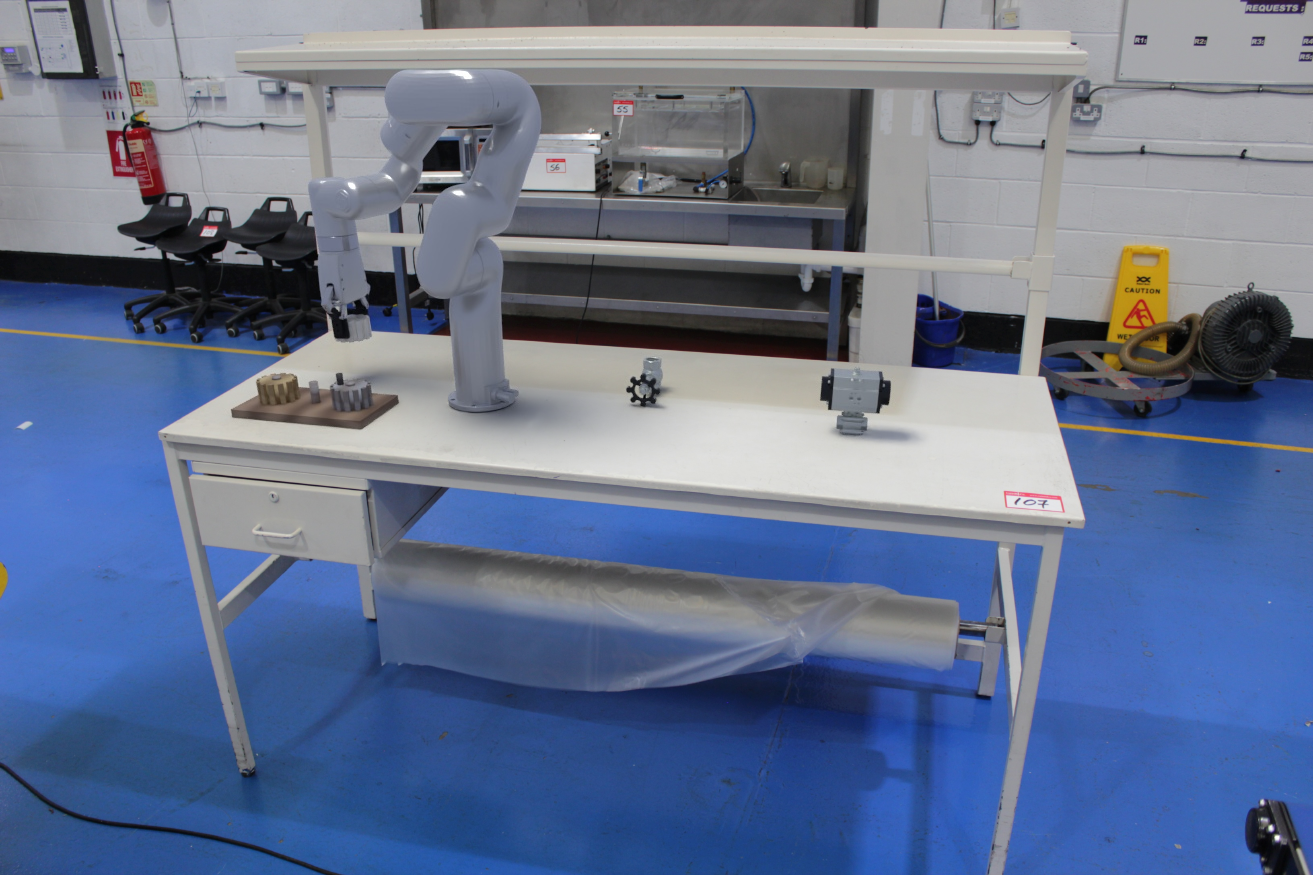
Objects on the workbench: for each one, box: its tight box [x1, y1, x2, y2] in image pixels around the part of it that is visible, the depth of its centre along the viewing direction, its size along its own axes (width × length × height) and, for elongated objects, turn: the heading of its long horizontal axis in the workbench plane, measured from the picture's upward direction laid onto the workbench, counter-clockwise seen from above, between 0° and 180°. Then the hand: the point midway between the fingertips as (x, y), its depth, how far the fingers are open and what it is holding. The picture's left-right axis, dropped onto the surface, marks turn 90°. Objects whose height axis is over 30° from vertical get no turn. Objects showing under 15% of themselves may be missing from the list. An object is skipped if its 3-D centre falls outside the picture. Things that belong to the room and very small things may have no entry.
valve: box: [625, 356, 664, 408], centre depth 171 cm, size 7×7×12 cm
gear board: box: [230, 372, 400, 430], centre depth 163 cm, size 26×14×8 cm, turn 78°
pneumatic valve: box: [819, 366, 892, 436], centre depth 153 cm, size 6×12×12 cm, turn 79°
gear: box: [334, 313, 373, 344], centre depth 176 cm, size 7×7×4 cm
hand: (352, 332), depth 176 cm, fingers closed on gear, 7 cm apart
